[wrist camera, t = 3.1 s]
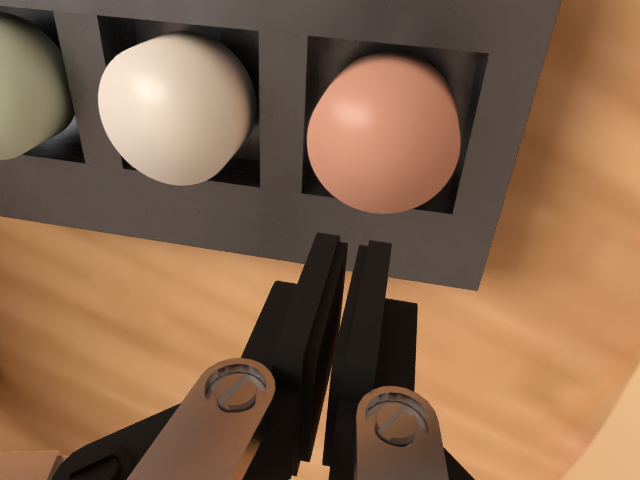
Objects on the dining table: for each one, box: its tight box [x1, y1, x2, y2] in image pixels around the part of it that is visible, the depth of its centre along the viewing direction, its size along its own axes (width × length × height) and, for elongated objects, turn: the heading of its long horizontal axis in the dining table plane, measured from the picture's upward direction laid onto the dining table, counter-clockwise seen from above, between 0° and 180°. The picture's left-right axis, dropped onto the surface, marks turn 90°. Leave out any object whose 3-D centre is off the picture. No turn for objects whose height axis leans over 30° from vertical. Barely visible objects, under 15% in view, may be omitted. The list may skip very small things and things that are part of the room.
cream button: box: [98, 30, 257, 186], centre depth 22 cm, size 6×6×3 cm
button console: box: [0, 0, 561, 291], centre depth 24 cm, size 15×29×4 cm, turn 87°
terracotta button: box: [307, 51, 460, 214], centre depth 21 cm, size 6×6×3 cm
